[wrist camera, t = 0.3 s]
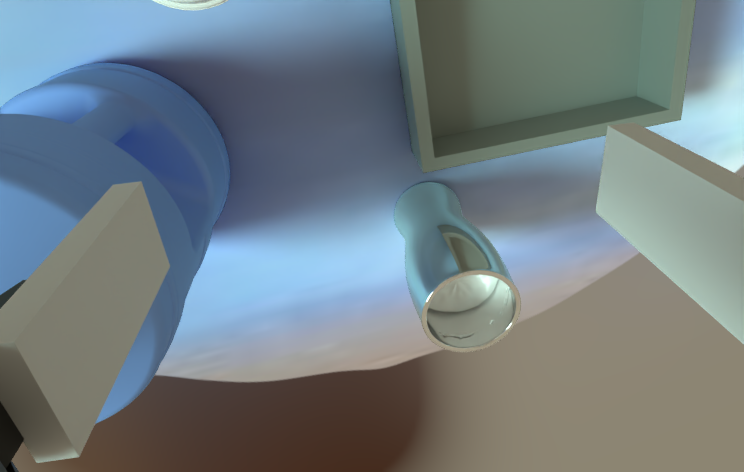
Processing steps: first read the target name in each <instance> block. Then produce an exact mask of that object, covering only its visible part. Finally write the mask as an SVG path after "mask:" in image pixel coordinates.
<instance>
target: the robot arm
mask: <svg viewBox="0 0 744 472" xmlns="http://www.w3.org/2000/svg"><path fill="white" fill-rule="evenodd" d="M596 213H597V214H598V215H599V216H600V217H602V218H603V219H604V220H605V221H606V222H607V223H608V224H609V225H611V226H612V227H613V228H614V229H615V230H616V231H617V232H618V233H619V234H621V235H622V236H623V237H624V238H625V239H626V240H627V241H628V242H630V243H631V244H632V245H633V246H634V247H635V248H636V249H637V250H639V251H640V252H641V253H642V254H643V255H644V256H645V257H646V258H647V259H649V260H650V261H651V262H652V263H653V264H654V265H655V266H656V267H658V268H659V269H660V270H661V271H662V272H663V273H664V274H665V275H667V276H668V277H669V278H670V279H671V280H672V281H673V282H675V283H676V284H677V285H678V286H679V287H680V288H681V289H682V290H683V291H684V292H686V293H687V294H688V295H689V296H690V297H691V298H692V299H693V300H695V301H696V302H697V303H698V304H699V305H700V306H701V307H702V308H704V309H705V310H706V311H707V312H708V313H709V314H710V315H711V316H713V317H714V318H715V319H716V320H717V321H718V322H719V323H720V324H721V325H723V326H724V327H725V328H726V329H727V330H728V331H729V332H730V333H732V334H733V335H734V336H735V337H736V338H737V339H738V340H739V341H741V342H742V343H743V344H744V178H743V177H741V176H739V175H737V174H735V173H733V172H731V171H729V170H727V169H725V168H723V167H721V166H719V165H717V164H715V163H713V162H711V161H709V160H707V159H705V158H703V157H702V156H700V155H698V154H696V153H694V152H692V151H690V150H688V149H686V148H684V147H682V146H680V145H678V144H676V143H674V142H672V141H670V140H668V139H666V138H664V137H662V136H660V135H658V134H656V133H654V132H652V131H650V130H648V129H646V128H644V127H642V126H640V125H638V124H636V123H634V122H633V123H625V124H616V125H608V128H607V135H606V142H605V149H604V156H603V163H602V170H601V177H600V184H599V191H598V198H597V205H596ZM169 268H170V264H169V261H168V258H167V255H166V252H165V249H164V246H163V243H162V240H161V237H160V234H159V232H158V229H157V226H156V223H155V220H154V217H153V214H152V211H151V208H150V205H149V202H148V199H147V196H146V193H145V190H144V187H143V184H142V181H140V182H131V183H123V184H115V185H112V186H111V188H110V189H109V190H108V191H107V192H106V193H105V194H104V195H103V196H102V197H101V199H100V200H99V201H98V202H97V203H96V204H95V205H94V206H93V207H92V208H91V210H90V211H89V212H88V213H87V214H86V215H85V216H84V217H83V218H82V219H81V221H80V222H79V223H78V224H77V225H76V226H75V227H74V228H73V229H72V230H71V232H70V233H69V234H68V235H67V236H66V237H65V238H64V239H63V240H62V241H61V243H60V244H59V245H58V246H57V247H56V248H55V249H54V250H53V251H52V253H51V254H50V255H49V256H48V257H47V258H46V259H45V260H44V261H43V262H42V264H41V265H40V266H39V267H38V268H37V269H36V270H35V271H34V272H33V273H32V275H31V276H30V277H29V278H28V279H27V280H22V281H21V282H19V283H18V284H16V285H15V286H13V287H12V288H10V289H9V290H7V291H6V292H4V293H3V294H1V295H0V472H18V470H17V468H16V467H15V465H14V464H13V462H12V461H11V460H12V458H13V457H14V455H15V453H16V452H17V450H18V449H19V447H20V445H21V443H22V442H24V443H25V445H26V447H27V448H28V450H29V451H30V453H31V455H32V456H33V458H34V459H35V461H36V462H37V463H40V462H46V461H54V460H61V459H68V458H75V457H79V456H80V454H81V452H82V450H83V448H84V446H85V444H86V441H87V439H88V437H89V435H90V433H91V431H92V429H93V427H94V425H95V423H96V421H97V418H98V416H99V414H100V412H101V410H102V408H103V406H104V404H105V402H106V400H107V398H108V395H109V393H110V391H111V389H112V387H113V385H114V383H115V381H116V379H117V377H118V374H119V372H120V370H121V368H122V366H123V364H124V362H125V360H126V358H127V356H128V354H129V351H130V349H131V347H132V345H133V343H134V341H135V339H136V337H137V335H138V333H139V330H140V328H141V326H142V324H143V322H144V320H145V318H146V316H147V314H148V312H149V309H150V307H151V305H152V303H153V301H154V299H155V297H156V295H157V293H158V291H159V289H160V286H161V284H162V282H163V280H164V278H165V276H166V274H167V272H168V270H169Z"/></svg>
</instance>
